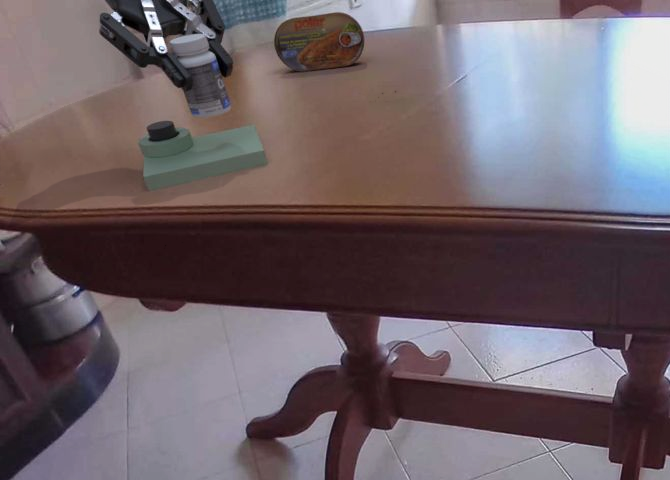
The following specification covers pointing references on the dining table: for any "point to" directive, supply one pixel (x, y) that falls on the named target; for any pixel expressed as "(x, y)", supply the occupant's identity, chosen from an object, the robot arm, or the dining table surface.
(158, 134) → the button
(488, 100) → the dining table surface
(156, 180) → the scale
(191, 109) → the pill bottle
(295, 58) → the tin
